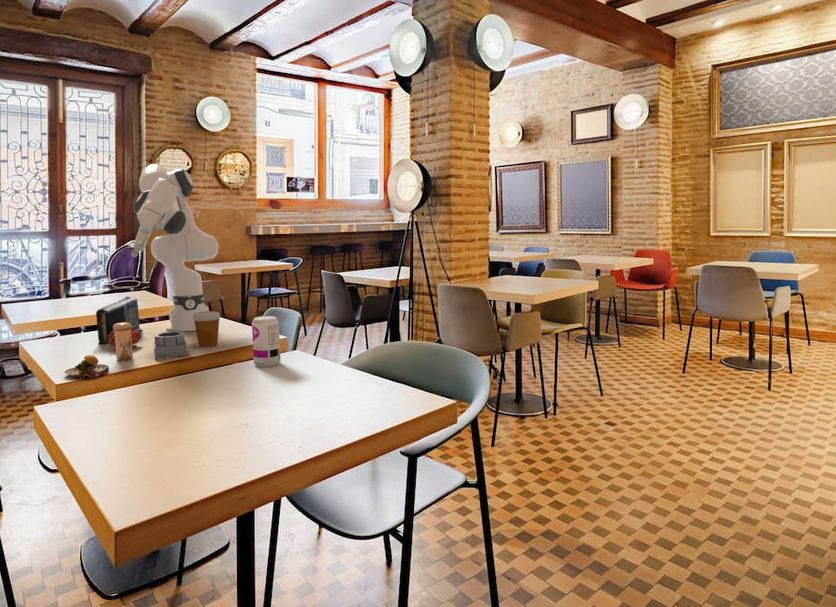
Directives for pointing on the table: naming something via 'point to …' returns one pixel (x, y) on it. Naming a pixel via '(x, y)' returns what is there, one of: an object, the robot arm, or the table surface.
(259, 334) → the supplement can
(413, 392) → the table surface
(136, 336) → the dragon fruit
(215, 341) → the disposable coffee cup
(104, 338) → the radio
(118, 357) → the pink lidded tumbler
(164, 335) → the valve body
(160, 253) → the robot arm
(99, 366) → the burger
